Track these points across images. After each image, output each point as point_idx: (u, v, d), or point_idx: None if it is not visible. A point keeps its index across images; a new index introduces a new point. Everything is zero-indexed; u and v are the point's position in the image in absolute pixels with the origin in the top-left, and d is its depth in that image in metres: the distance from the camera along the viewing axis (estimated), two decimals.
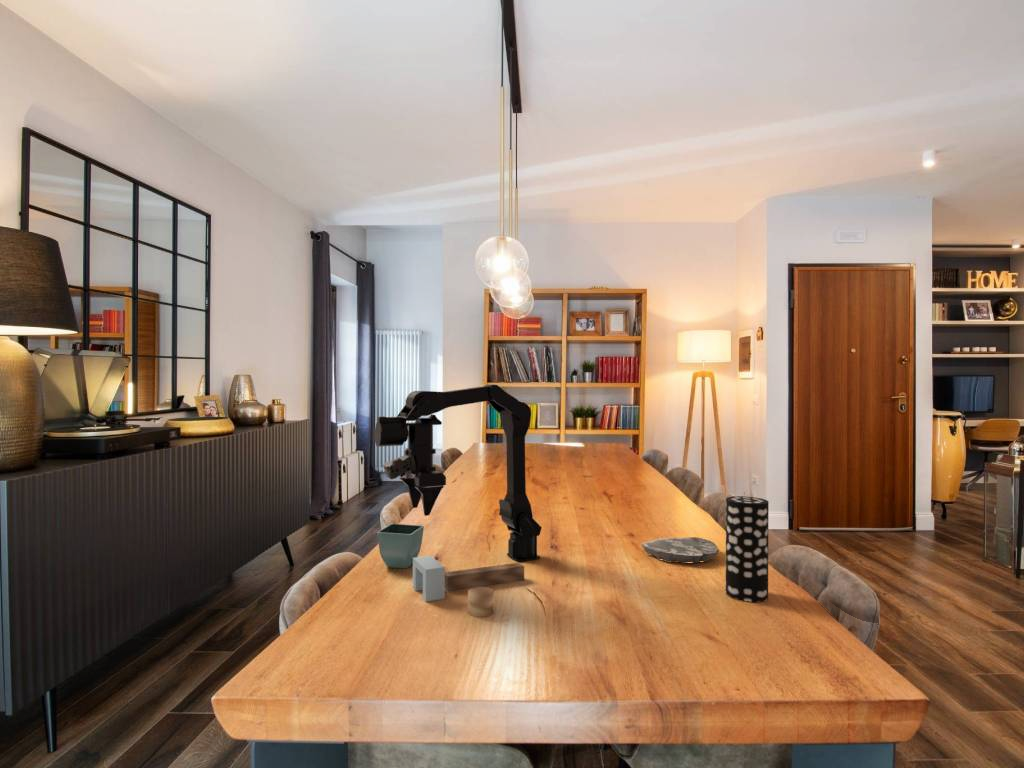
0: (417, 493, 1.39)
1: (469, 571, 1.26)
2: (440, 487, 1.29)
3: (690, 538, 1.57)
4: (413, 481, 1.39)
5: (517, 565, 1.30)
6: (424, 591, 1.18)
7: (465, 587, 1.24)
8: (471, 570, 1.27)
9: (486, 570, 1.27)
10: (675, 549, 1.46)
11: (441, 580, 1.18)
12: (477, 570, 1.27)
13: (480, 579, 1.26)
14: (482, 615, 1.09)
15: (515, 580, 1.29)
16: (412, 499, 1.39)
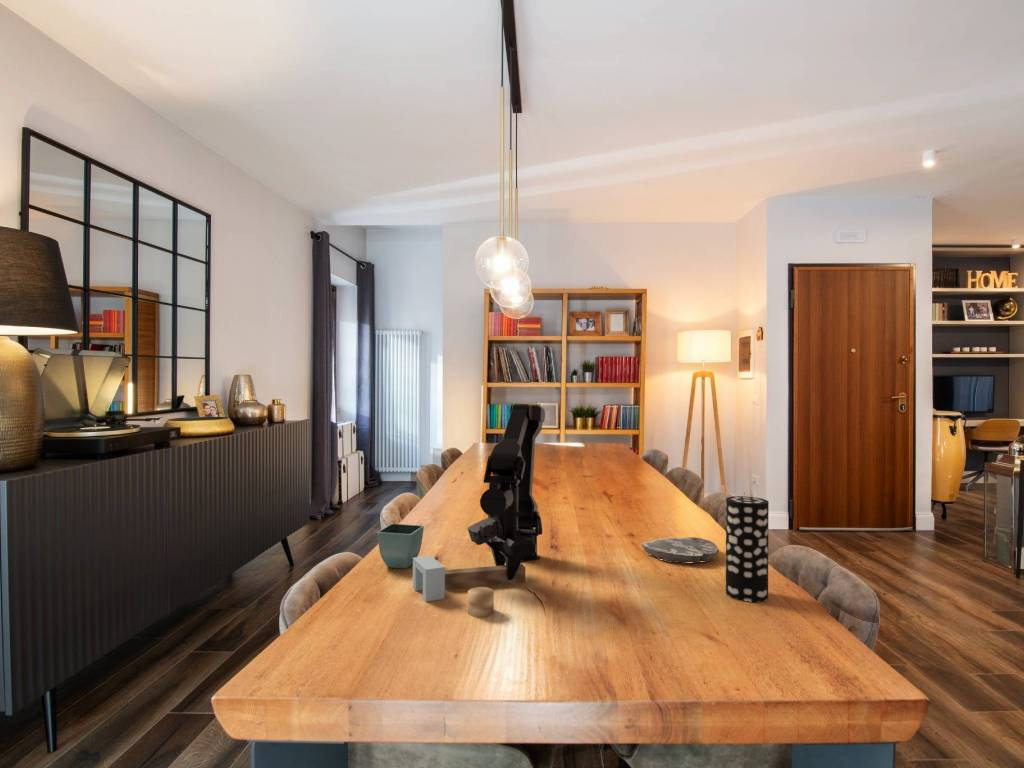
0: (502, 557, 1.33)
1: (468, 570, 1.26)
2: None
3: (690, 538, 1.57)
4: (498, 545, 1.32)
5: None
6: (424, 591, 1.18)
7: (463, 586, 1.25)
8: (471, 569, 1.27)
9: (486, 569, 1.27)
10: (675, 549, 1.46)
11: (441, 580, 1.18)
12: (476, 569, 1.27)
13: (479, 578, 1.26)
14: (482, 615, 1.09)
15: (516, 581, 1.28)
16: (498, 564, 1.32)
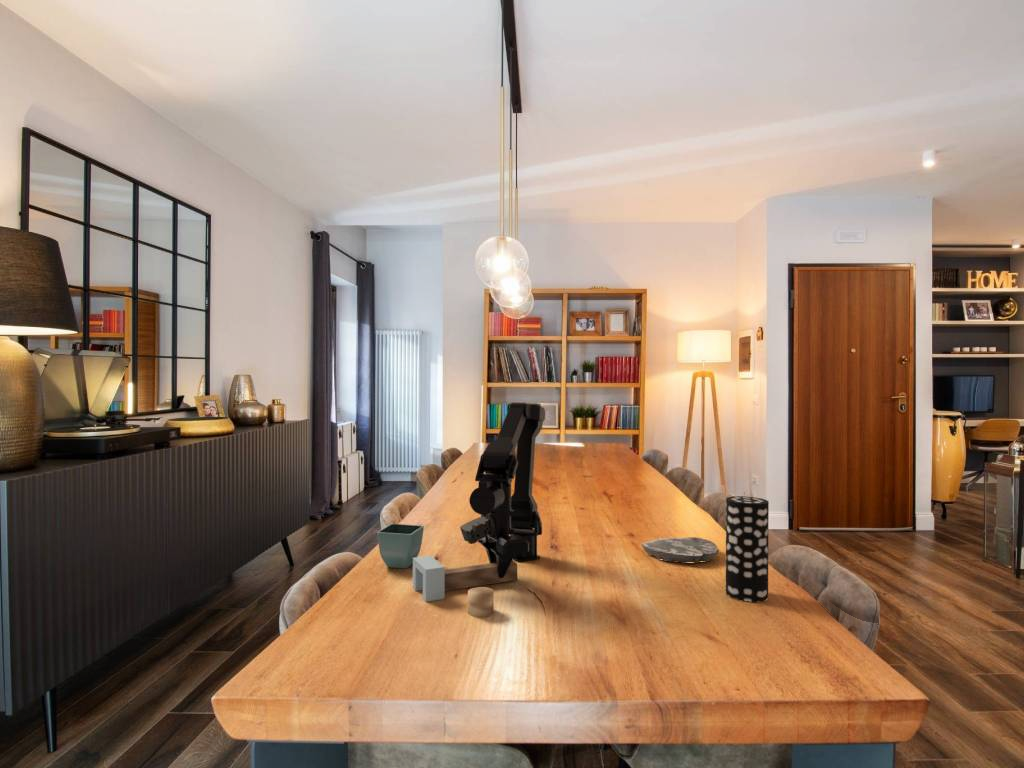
0: None
1: (460, 570, 1.25)
2: None
3: (690, 538, 1.57)
4: (493, 545, 1.31)
5: (510, 563, 1.30)
6: (424, 591, 1.18)
7: (457, 585, 1.24)
8: (463, 568, 1.26)
9: (478, 568, 1.27)
10: (675, 549, 1.46)
11: (441, 580, 1.18)
12: (469, 568, 1.26)
13: (472, 577, 1.25)
14: (482, 615, 1.09)
15: (508, 578, 1.28)
16: None
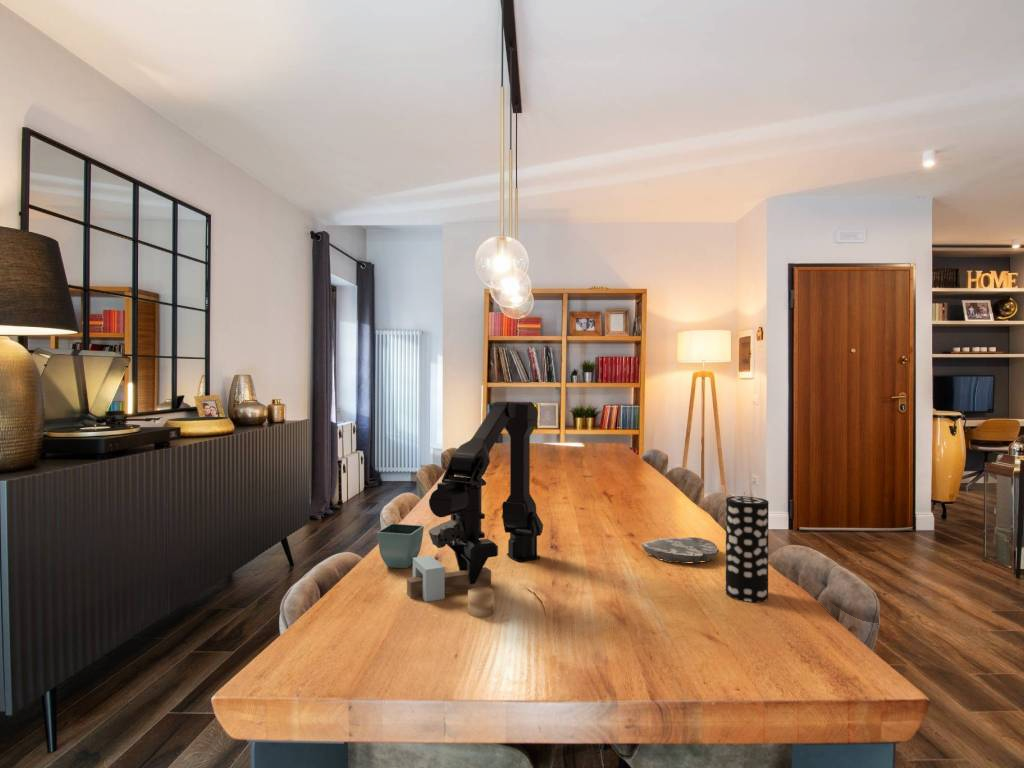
0: (466, 561, 1.28)
1: None
2: None
3: (690, 538, 1.57)
4: (461, 548, 1.28)
5: (484, 570, 1.27)
6: (424, 591, 1.18)
7: None
8: None
9: (451, 575, 1.23)
10: (675, 549, 1.46)
11: (441, 580, 1.18)
12: None
13: (445, 584, 1.22)
14: (482, 615, 1.09)
15: (481, 585, 1.26)
16: (461, 567, 1.28)
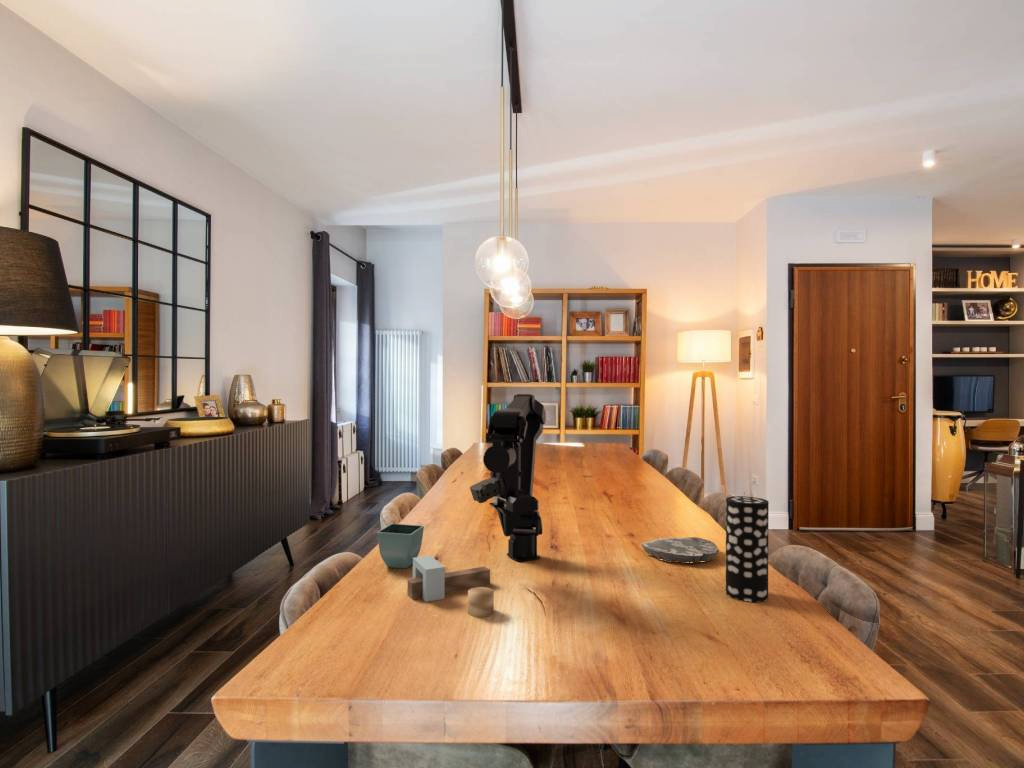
0: None
1: None
2: None
3: (690, 538, 1.57)
4: None
5: (483, 569, 1.27)
6: (424, 591, 1.18)
7: None
8: None
9: (452, 575, 1.23)
10: (675, 549, 1.46)
11: (441, 580, 1.18)
12: None
13: (446, 585, 1.22)
14: (482, 615, 1.09)
15: (481, 585, 1.26)
16: None
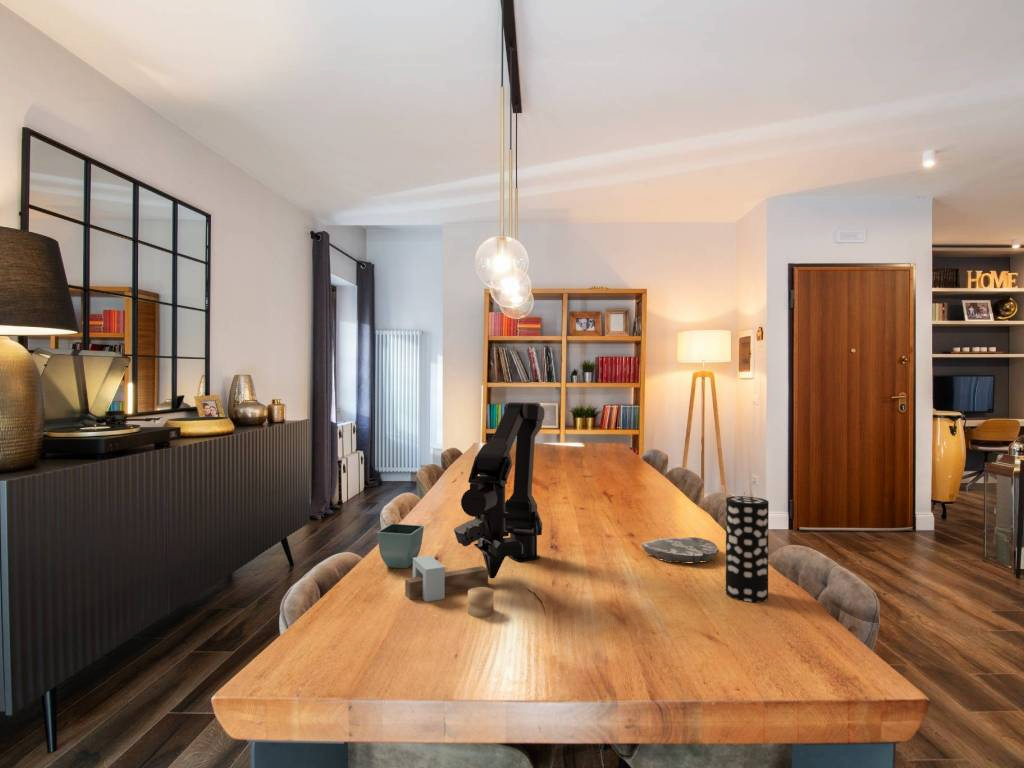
0: None
1: None
2: None
3: (690, 538, 1.57)
4: None
5: (481, 569, 1.27)
6: (424, 591, 1.18)
7: None
8: None
9: (449, 574, 1.23)
10: (675, 549, 1.46)
11: (441, 580, 1.18)
12: None
13: None
14: (482, 615, 1.09)
15: (479, 584, 1.26)
16: None
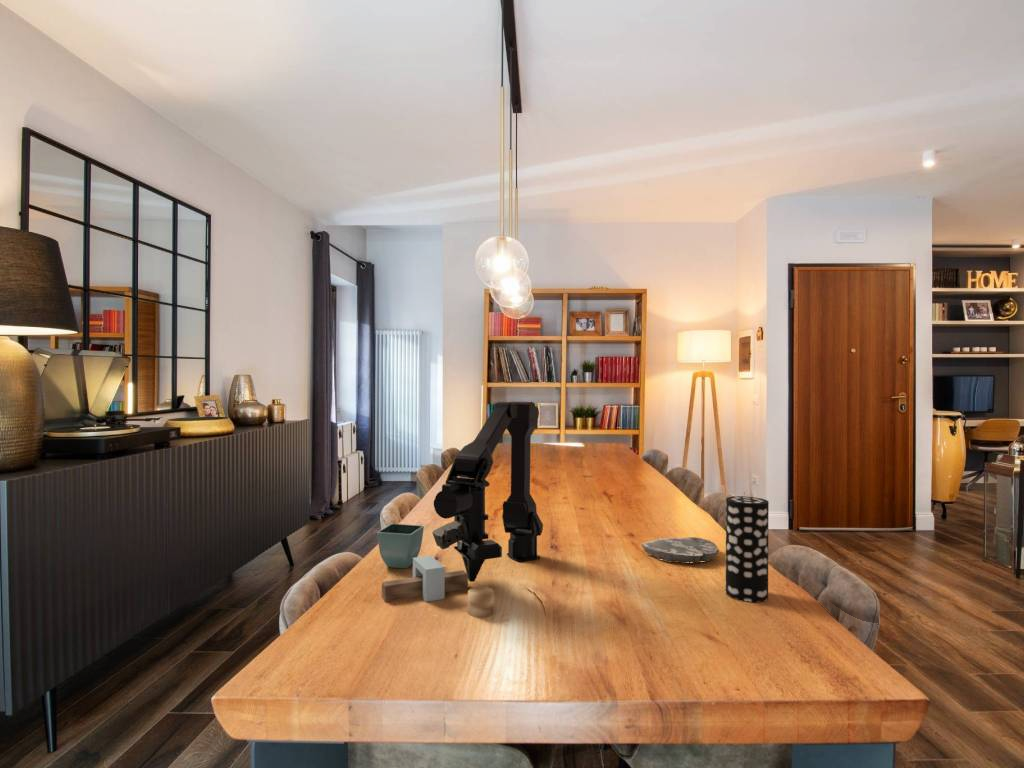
0: None
1: (408, 580, 1.20)
2: None
3: (690, 538, 1.57)
4: None
5: (460, 573, 1.25)
6: (424, 591, 1.18)
7: (404, 597, 1.19)
8: (411, 579, 1.21)
9: None
10: (675, 549, 1.46)
11: (441, 580, 1.18)
12: (417, 579, 1.21)
13: (421, 588, 1.20)
14: (482, 615, 1.09)
15: (458, 589, 1.24)
16: None
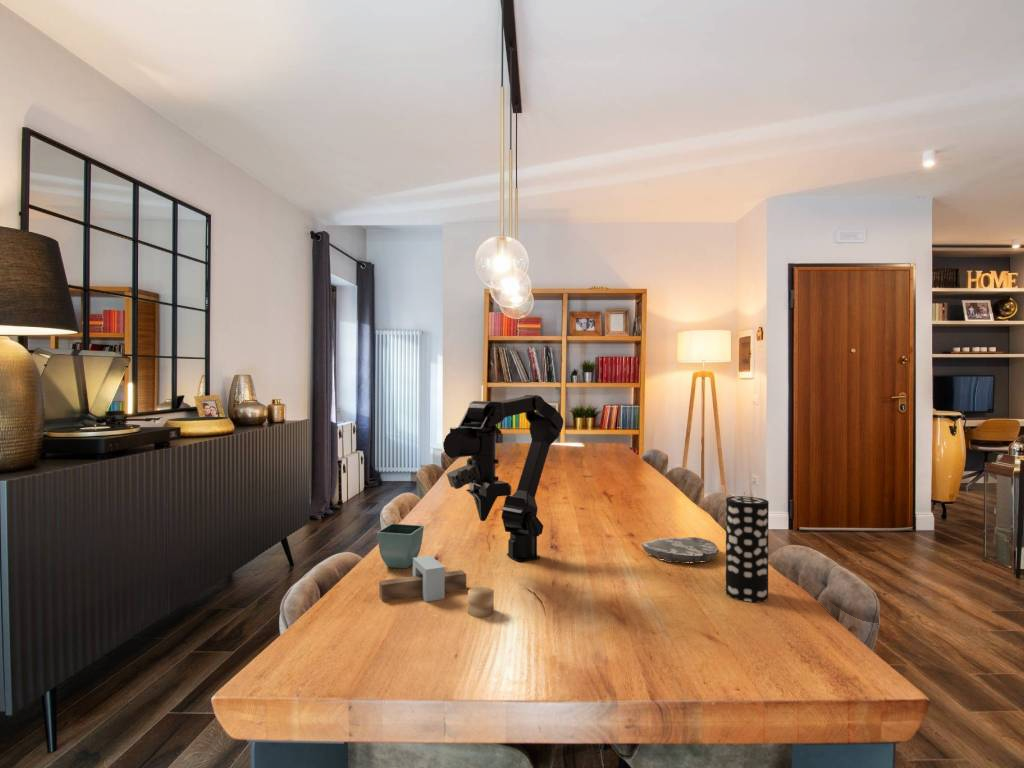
0: None
1: (406, 579, 1.20)
2: None
3: (690, 538, 1.57)
4: None
5: (459, 573, 1.25)
6: (424, 591, 1.18)
7: (401, 596, 1.19)
8: (409, 578, 1.21)
9: None
10: (675, 549, 1.46)
11: (441, 580, 1.18)
12: (415, 578, 1.21)
13: (418, 587, 1.20)
14: (482, 615, 1.09)
15: (456, 589, 1.23)
16: None
